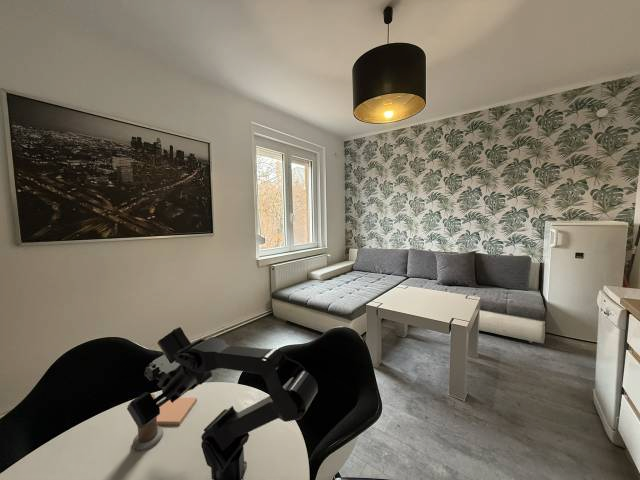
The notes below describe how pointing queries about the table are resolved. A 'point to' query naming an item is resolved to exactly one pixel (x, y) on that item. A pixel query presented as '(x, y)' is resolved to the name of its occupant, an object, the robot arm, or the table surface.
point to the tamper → (148, 435)
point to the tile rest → (175, 411)
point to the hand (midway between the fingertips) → (158, 404)
